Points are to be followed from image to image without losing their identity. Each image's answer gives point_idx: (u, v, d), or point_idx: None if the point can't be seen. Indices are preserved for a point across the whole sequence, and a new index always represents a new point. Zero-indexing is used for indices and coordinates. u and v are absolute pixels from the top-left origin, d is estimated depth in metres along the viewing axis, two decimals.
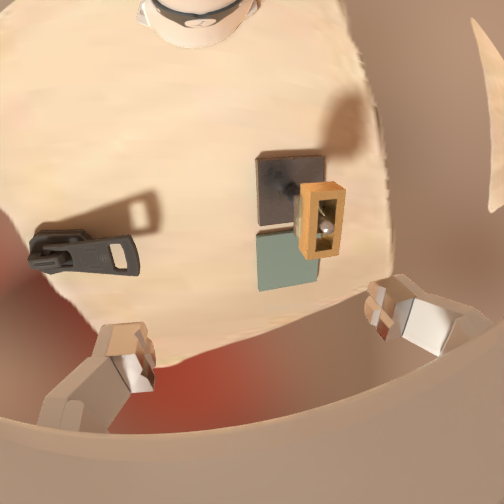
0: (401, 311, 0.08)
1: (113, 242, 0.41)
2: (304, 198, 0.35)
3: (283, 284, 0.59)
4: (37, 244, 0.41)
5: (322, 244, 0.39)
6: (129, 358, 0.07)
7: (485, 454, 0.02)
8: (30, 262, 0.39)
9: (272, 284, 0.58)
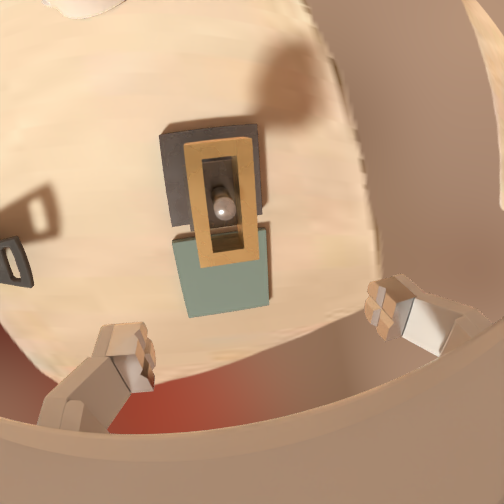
0: (401, 311, 0.08)
1: (4, 245, 0.26)
2: None
3: (221, 309, 0.43)
4: None
5: (232, 242, 0.24)
6: (129, 357, 0.07)
7: (485, 454, 0.02)
8: None
9: (205, 308, 0.42)
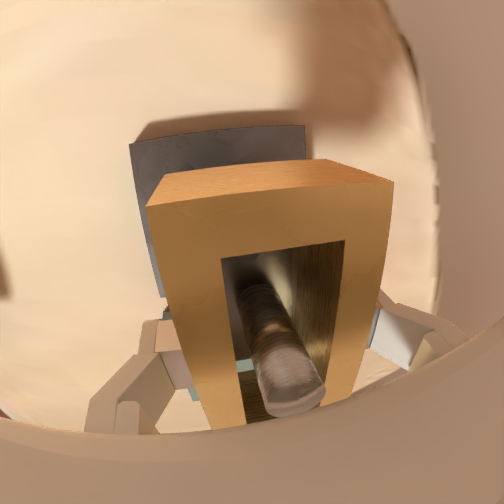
0: None
1: None
2: None
3: None
4: None
5: None
6: (180, 353, 0.07)
7: (485, 454, 0.02)
8: None
9: None
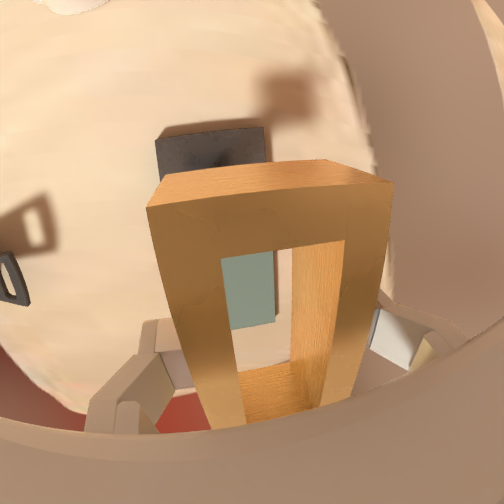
0: None
1: None
2: None
3: None
4: None
5: (284, 397, 0.10)
6: (180, 353, 0.07)
7: (485, 454, 0.02)
8: None
9: None
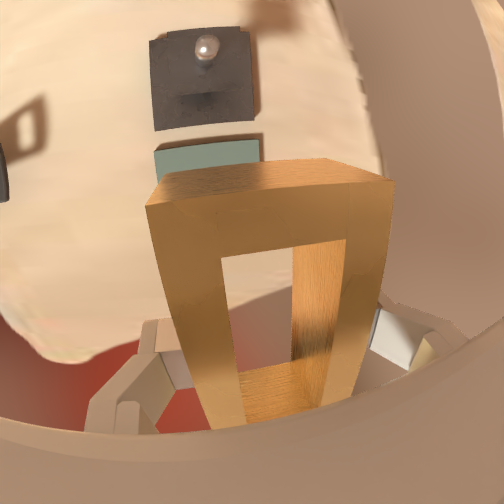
0: None
1: None
2: None
3: None
4: None
5: (285, 397, 0.10)
6: (180, 352, 0.07)
7: (485, 454, 0.02)
8: None
9: None
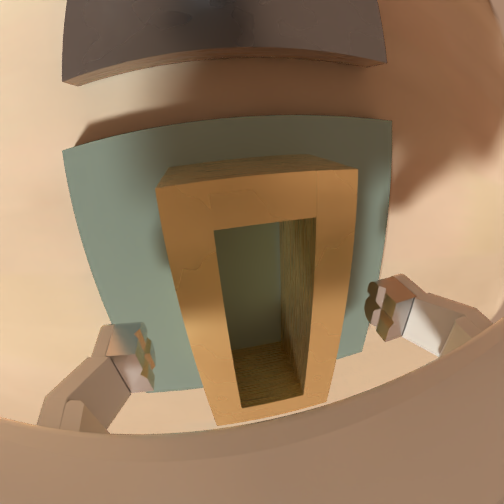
0: (401, 311, 0.08)
1: None
2: None
3: None
4: None
5: (275, 372, 0.12)
6: (129, 357, 0.07)
7: (485, 454, 0.02)
8: None
9: (190, 374, 0.13)
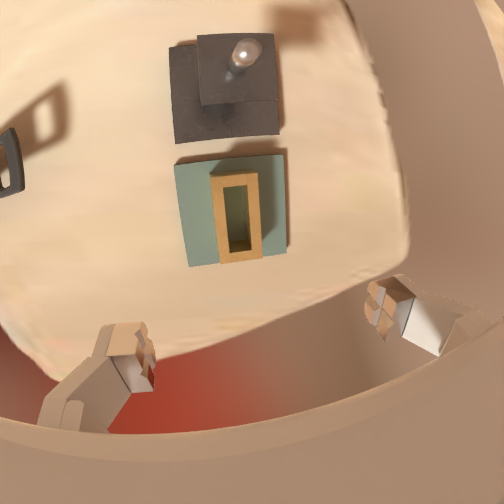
0: (401, 311, 0.08)
1: None
2: None
3: None
4: None
5: (242, 245, 0.34)
6: (129, 357, 0.07)
7: (485, 454, 0.02)
8: None
9: (209, 254, 0.35)
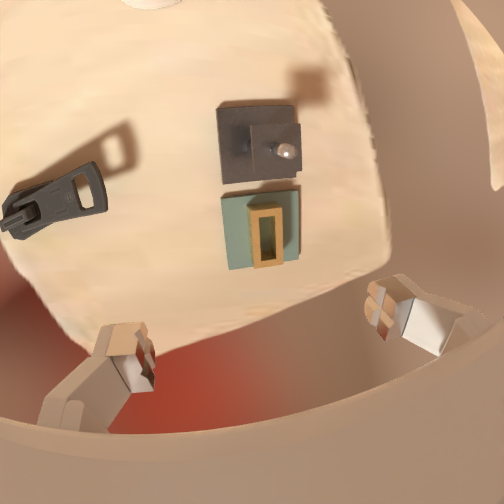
0: (401, 311, 0.08)
1: (76, 173, 0.32)
2: (248, 217, 0.44)
3: None
4: (9, 205, 0.34)
5: (269, 255, 0.48)
6: (129, 357, 0.07)
7: (485, 454, 0.02)
8: (0, 223, 0.32)
9: (244, 261, 0.49)
